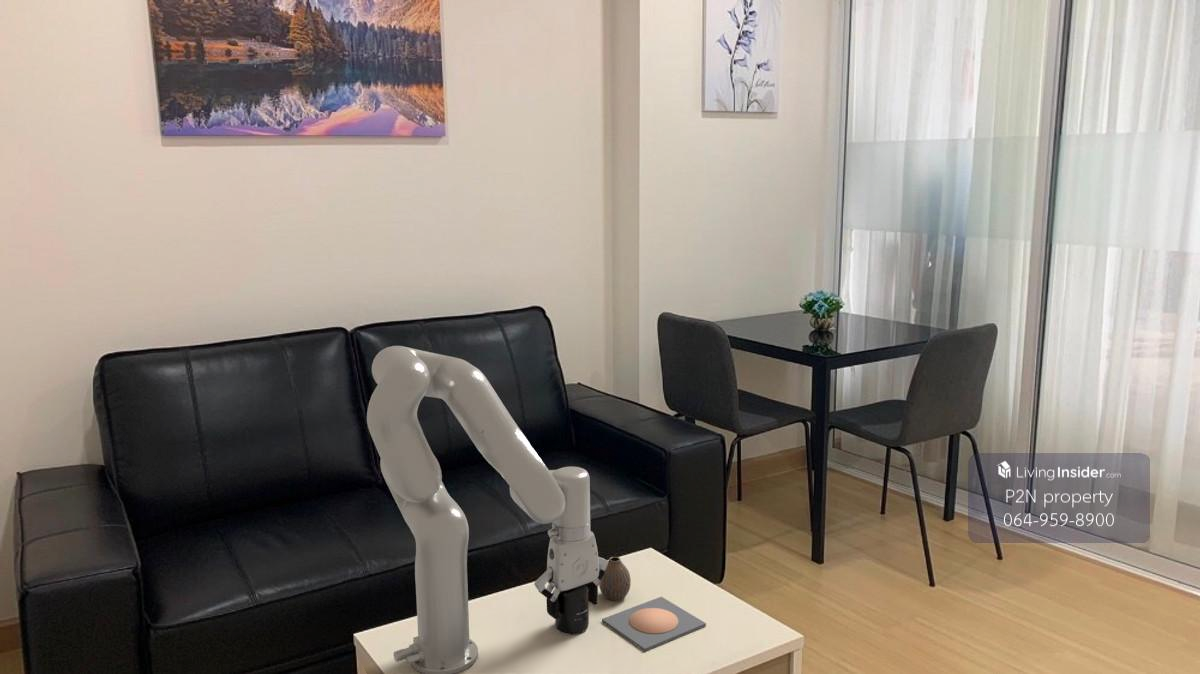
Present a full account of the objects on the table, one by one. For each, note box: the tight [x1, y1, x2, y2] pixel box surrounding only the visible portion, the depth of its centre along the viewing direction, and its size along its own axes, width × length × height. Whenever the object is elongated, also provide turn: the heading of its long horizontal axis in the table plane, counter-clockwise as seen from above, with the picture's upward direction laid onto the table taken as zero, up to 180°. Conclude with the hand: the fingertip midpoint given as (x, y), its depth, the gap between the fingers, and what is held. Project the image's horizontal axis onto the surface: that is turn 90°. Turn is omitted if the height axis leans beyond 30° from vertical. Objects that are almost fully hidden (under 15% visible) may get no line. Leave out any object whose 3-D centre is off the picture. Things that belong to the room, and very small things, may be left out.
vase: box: [598, 556, 632, 602], centre depth 185 cm, size 7×7×9 cm
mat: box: [601, 596, 707, 652], centre depth 175 cm, size 16×14×1 cm
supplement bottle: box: [554, 584, 590, 635], centre depth 173 cm, size 7×7×12 cm
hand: (572, 609), depth 173 cm, fingers open, 9 cm apart
